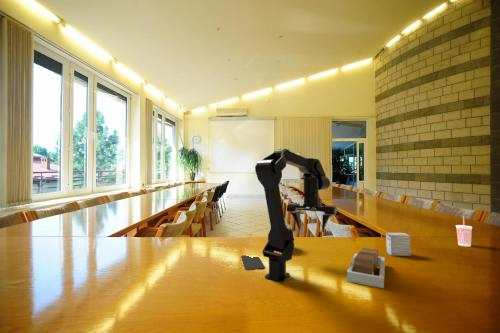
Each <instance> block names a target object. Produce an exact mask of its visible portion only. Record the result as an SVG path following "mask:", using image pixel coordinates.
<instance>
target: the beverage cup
mask: <svg viewBox="0 0 500 333" xmlns="http://www.w3.org/2000/svg"><path fill="white" fill-rule="evenodd" d="M455 228H456V236H457V237H456V238H457V244H458V246H461V247H466V248H467V247H471V246H472V229H473V226H471V225H465V215H462V224H456V225H455Z"/></svg>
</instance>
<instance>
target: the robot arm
mask: <svg viewBox="0 0 500 333" xmlns="http://www.w3.org/2000/svg"><path fill="white" fill-rule="evenodd" d="M287 164H288V165H289V166H293V167H295V168H297V169H298V171H299V172H301V173H302V174H303V175H301V176H300V180H302V181H303V183H302V184H303V193H302V197H303V203H302V205H301V204H300V203H298V202H290V203H287V205H286V209H285V210H286V212H289V214H290V215H292V217H293V219H294V221H295V223H296V226H297V228H298V230H301V229H302V221H301V211H307V212H308V211H309V212H320V213H321V212H323V214H322V223H321V231H322V233H324V232H325V230H326V226H327V224H328V221H329V219H330V217H332V216H334V215H336V214H337V213H338V207H337V206H336V205H334V204H333V205H331V204H327V205H326V204H325V205H324V206H322V198H321V197H320V193H319V191H322V190H324V191H325V190H328V189H329V188H330V186H331V181H330V179H329V177H328V176H326V174H327V173H325V170H324V168H323V165H322V162H321V160H319V158H313V157H311V158H310V157H309V158H307V157H304V156H303V155H300V154H297V153H295V152H293V151H290V150H289V149H287V148H279V149H275V150H274V151H273V152H272V153H270V154H268V155H267V156H265V157H263V158H262V159H260V160H258V161H257V162H256V164H255V167H254V169H255V170H254V172H255V174H256V177H257V180H258V181H259V183H260V185H262V187H263V189H264V190H263V191H264V196H265V201H266V207H267V212H268V219H269V223H270V224H269V225H270V229H269V232H268V234H267V242H266V244H265V245H264V247H263V249H262V254H263V255H262V256H263V257H265V258H268V273H267V274H265V276H264V278H265V279H269V280H273V281H277V282H283V283H284V282H285V280H287V278H288V277H290V275H291V274H290V272H287V262H288V261H291V260H292V259H293V253H294V248H295V242H294V241H295V237H294V231H293V229H292V228H291V229H288V228H287V227H286V225H287V224H286V221H285V216H284V208H283V203H282V196H281V192H280V190H281V189H280V183H281V180H282V178H283V170H284V169H285V168H286V167H287Z"/></svg>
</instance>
